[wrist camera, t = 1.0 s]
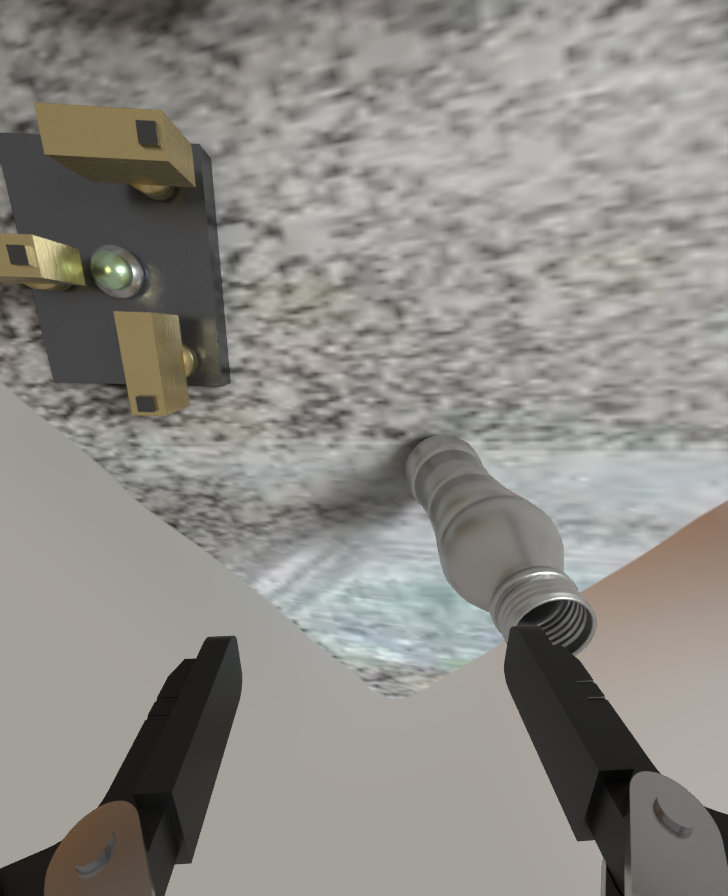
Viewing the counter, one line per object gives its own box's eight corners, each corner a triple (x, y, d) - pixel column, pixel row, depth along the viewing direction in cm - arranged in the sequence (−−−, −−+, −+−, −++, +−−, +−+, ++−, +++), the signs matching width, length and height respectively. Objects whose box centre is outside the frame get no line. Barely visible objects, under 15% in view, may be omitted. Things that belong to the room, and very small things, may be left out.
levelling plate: (21, 147, 25) (-27, 120, 21) (210, 158, 25) (191, 133, 22) (73, 379, 29) (40, 384, 26) (230, 382, 30) (216, 388, 27)
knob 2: (110, 198, 24) (41, 158, 18) (102, 148, 23) (26, 91, 18) (207, 202, 24) (166, 165, 19) (202, 153, 23) (158, 99, 18)
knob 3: (155, 315, 26) (104, 310, 21) (193, 316, 26) (153, 312, 21) (167, 400, 28) (124, 416, 23) (203, 401, 28) (168, 416, 23)
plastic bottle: (386, 460, 33) (438, 632, 14) (443, 413, 32) (585, 533, 13) (427, 506, 35) (524, 715, 16) (483, 463, 34) (661, 633, 15)
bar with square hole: (12, 289, 25) (-80, 278, 20) (1, 246, 24) (-98, 221, 19) (104, 293, 26) (39, 282, 20) (96, 250, 25) (25, 226, 19)
